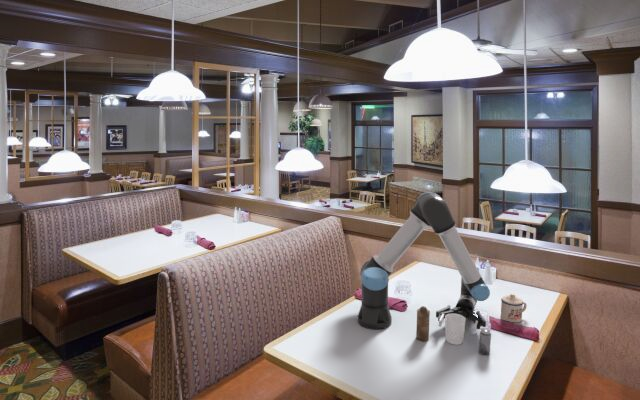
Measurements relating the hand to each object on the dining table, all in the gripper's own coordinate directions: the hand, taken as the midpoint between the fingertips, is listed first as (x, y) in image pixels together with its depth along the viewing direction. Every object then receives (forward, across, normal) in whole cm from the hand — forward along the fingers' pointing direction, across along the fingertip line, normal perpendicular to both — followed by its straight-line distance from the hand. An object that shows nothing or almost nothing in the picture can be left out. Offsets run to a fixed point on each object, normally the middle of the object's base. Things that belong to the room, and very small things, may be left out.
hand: (456, 327), depth 169 cm
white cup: (0, +1, -6) cm, 6 cm away
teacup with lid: (-31, -20, -6) cm, 37 cm away
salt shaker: (+5, -11, -6) cm, 14 cm away
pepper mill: (+4, +13, -6) cm, 15 cm away
